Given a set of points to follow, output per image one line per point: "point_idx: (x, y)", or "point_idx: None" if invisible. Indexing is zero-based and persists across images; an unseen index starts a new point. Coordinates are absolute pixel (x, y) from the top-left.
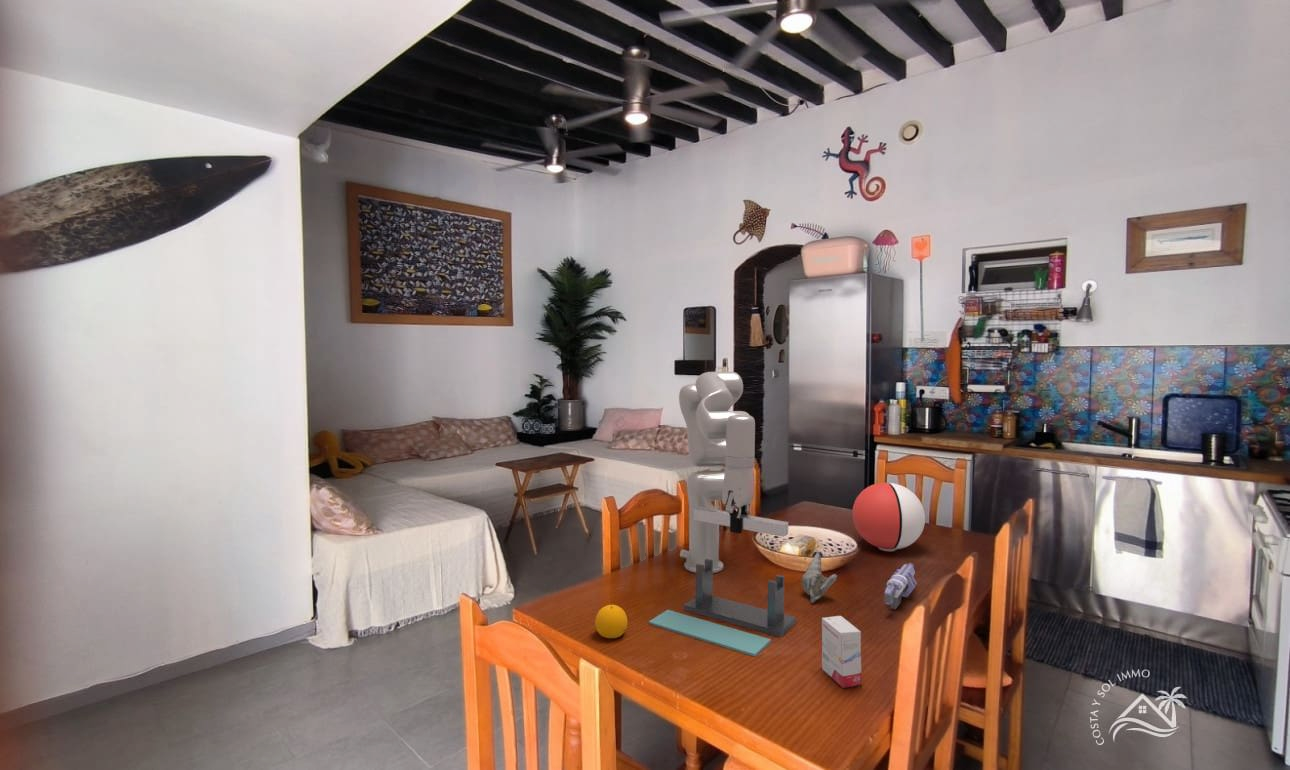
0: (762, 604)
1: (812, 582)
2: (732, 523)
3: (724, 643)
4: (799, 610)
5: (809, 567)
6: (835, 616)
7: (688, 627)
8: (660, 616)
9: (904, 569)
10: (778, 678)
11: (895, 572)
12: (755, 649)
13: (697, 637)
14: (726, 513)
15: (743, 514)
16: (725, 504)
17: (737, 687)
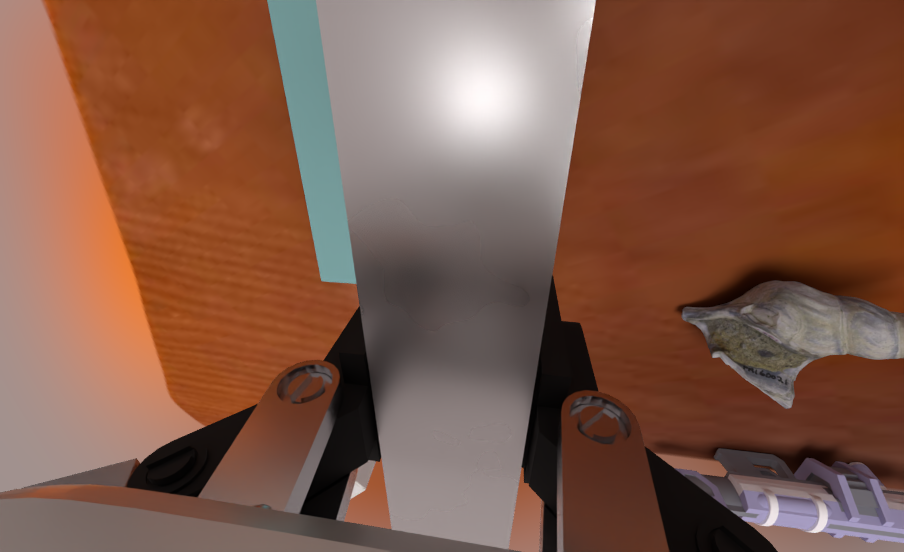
0: (623, 187)
1: (760, 330)
2: (341, 344)
3: (312, 205)
4: (622, 290)
5: (865, 328)
6: (357, 481)
7: (315, 66)
8: None
9: (894, 534)
10: (289, 333)
11: (857, 519)
12: (339, 274)
13: (292, 124)
14: (426, 269)
15: (520, 456)
16: (71, 508)
17: (212, 288)
